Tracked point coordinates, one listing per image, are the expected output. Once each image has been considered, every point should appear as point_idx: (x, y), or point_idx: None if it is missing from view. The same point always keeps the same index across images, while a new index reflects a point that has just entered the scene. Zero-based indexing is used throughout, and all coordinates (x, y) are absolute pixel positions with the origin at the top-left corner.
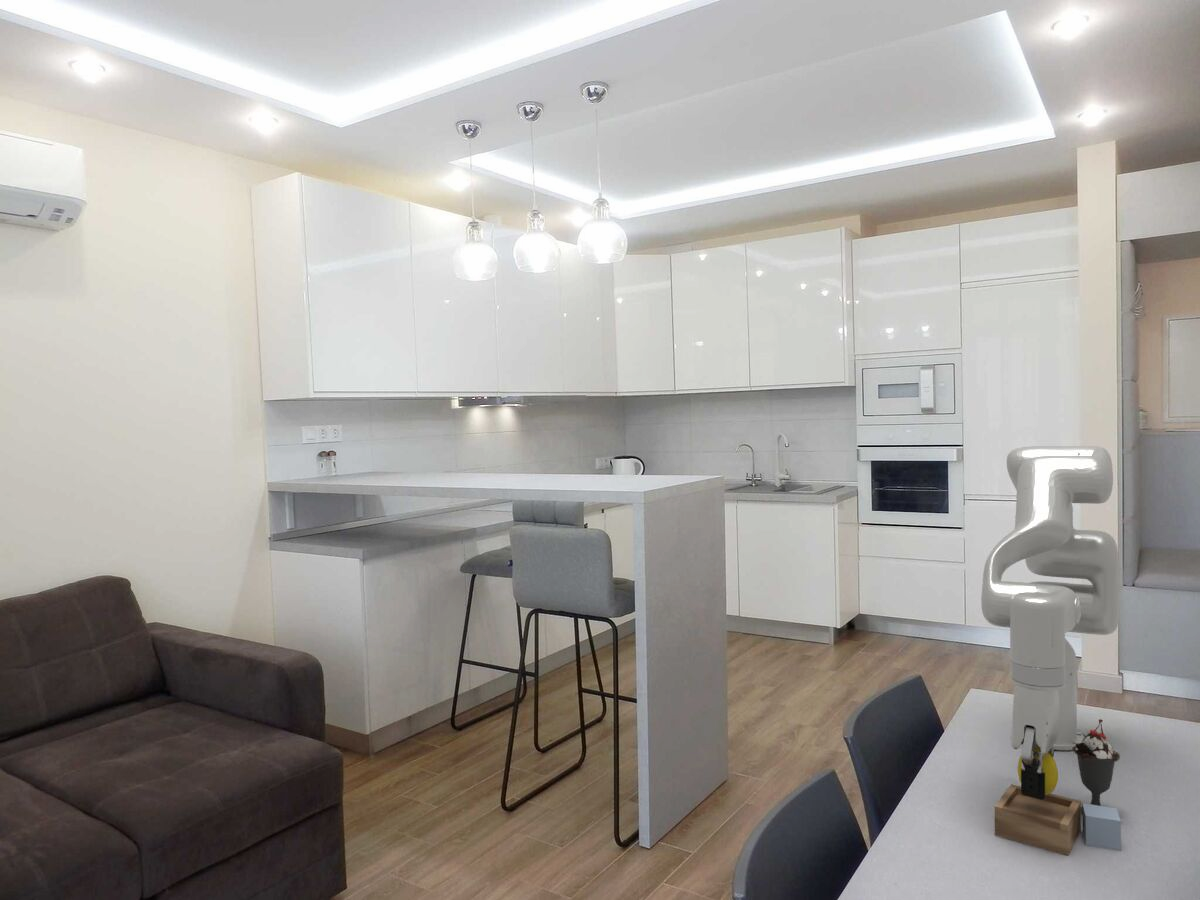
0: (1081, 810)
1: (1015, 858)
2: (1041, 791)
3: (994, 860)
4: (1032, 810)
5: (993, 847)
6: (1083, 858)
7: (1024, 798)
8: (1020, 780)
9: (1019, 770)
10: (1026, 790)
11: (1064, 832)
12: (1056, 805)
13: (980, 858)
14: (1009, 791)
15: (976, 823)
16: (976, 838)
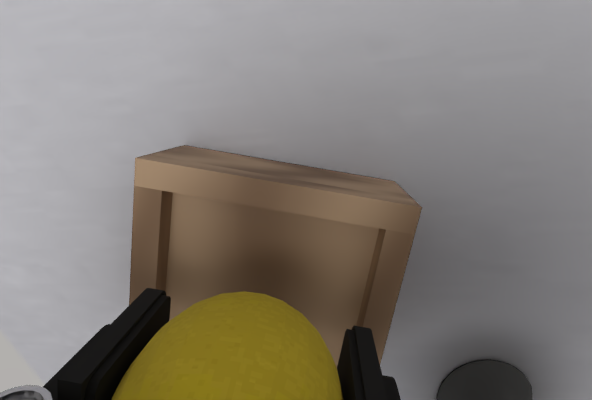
0: (479, 370)
1: (73, 209)
2: None
3: (24, 158)
4: (247, 279)
5: (101, 148)
6: None
7: (347, 250)
8: (197, 302)
9: (166, 336)
10: (108, 325)
11: None
12: (334, 350)
13: (10, 120)
14: (330, 204)
15: (240, 80)
16: (130, 94)
